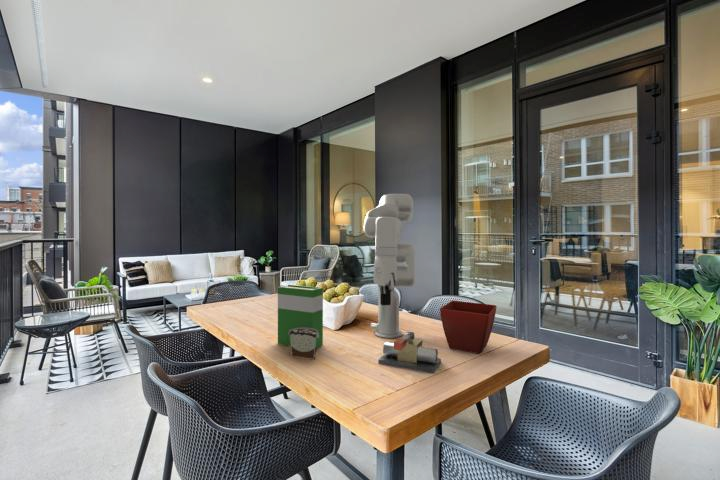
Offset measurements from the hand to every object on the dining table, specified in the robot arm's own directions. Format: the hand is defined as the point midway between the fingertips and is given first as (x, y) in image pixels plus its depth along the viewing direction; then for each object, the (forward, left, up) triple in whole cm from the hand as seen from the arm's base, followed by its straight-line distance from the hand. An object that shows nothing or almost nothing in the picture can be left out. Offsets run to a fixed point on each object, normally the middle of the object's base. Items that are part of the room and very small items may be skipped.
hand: (385, 304), depth 125 cm
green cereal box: (-41, +8, -22) cm, 48 cm away
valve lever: (+7, +2, -13) cm, 15 cm away
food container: (-31, -2, -22) cm, 39 cm away
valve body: (+7, +8, -22) cm, 24 cm away
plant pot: (+23, +36, -22) cm, 48 cm away
